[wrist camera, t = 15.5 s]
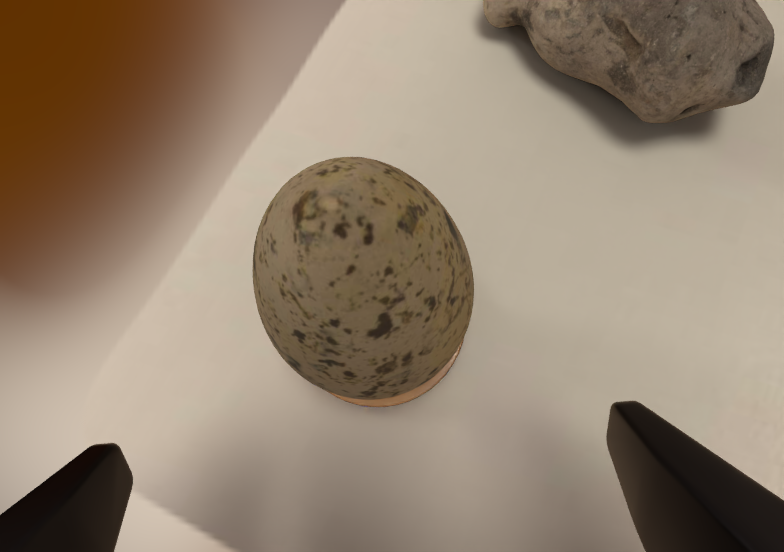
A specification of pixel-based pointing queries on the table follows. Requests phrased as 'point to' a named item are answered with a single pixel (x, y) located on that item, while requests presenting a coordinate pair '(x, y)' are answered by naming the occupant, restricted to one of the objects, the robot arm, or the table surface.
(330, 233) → the decorative egg
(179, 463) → the table surface
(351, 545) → the table surface
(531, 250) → the table surface
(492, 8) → the stone
